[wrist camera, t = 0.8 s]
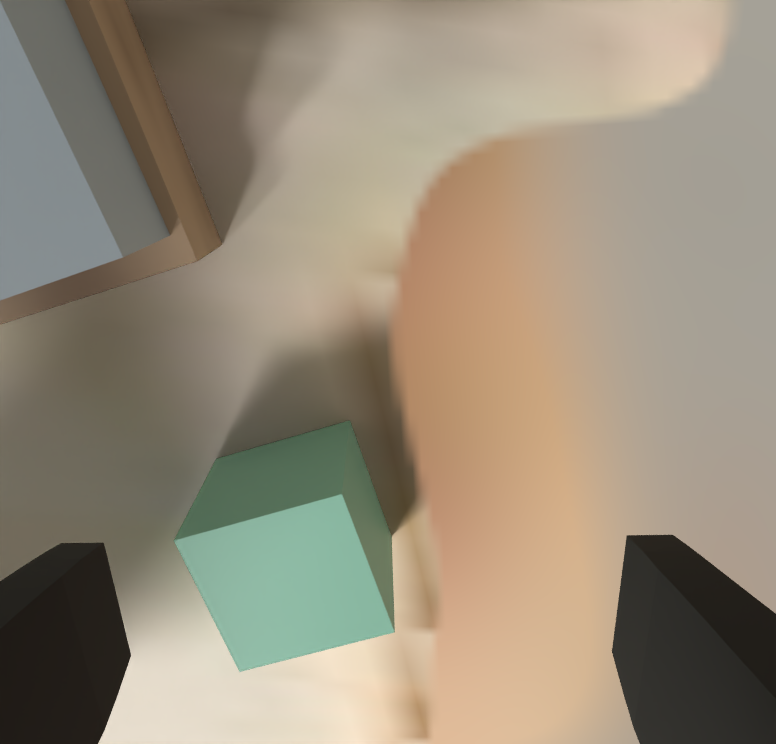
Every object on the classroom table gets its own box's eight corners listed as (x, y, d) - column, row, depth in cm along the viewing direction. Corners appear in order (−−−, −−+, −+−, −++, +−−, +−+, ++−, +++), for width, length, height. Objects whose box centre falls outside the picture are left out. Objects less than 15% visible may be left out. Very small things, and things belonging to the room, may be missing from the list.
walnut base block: (7, 312, 19) (-58, 343, 16) (-125, 65, 16) (-230, 49, 14) (225, 242, 18) (197, 261, 15) (119, -26, 16) (62, -61, 13)
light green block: (266, 568, 22) (239, 671, 17) (216, 457, 20) (173, 540, 16) (391, 535, 21) (394, 632, 17) (349, 419, 20) (341, 494, 16)
